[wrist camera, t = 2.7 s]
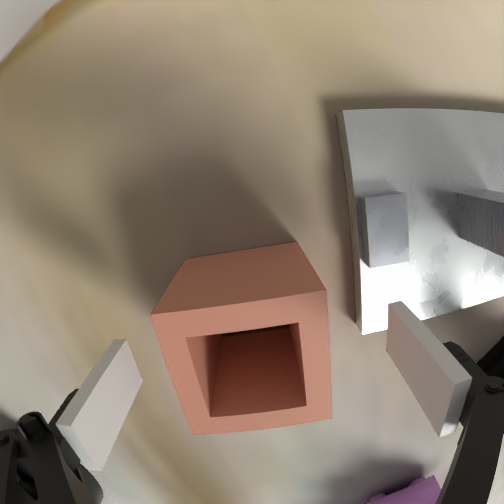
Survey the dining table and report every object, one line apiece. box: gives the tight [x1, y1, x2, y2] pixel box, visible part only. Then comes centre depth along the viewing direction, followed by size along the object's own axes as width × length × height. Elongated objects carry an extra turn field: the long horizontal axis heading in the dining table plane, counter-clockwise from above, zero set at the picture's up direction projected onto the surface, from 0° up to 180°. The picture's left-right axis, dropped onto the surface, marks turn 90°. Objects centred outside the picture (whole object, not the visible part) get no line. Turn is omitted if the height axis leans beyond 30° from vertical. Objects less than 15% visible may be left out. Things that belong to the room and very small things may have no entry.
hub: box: [150, 242, 332, 435], centre depth 17 cm, size 7×7×8 cm
